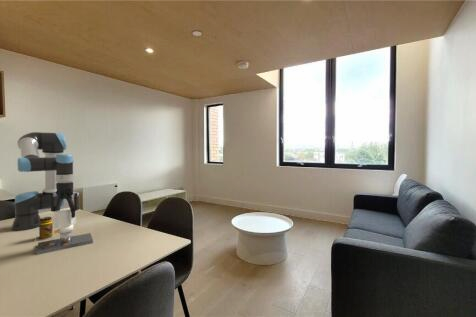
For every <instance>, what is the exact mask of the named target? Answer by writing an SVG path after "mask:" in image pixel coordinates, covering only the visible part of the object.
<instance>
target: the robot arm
mask: <svg viewBox="0 0 476 317" xmlns="http://www.w3.org/2000/svg"><path fill="white" fill-rule="evenodd" d="M17 148H18V149H19V150H20V155H21V157H18V159H17V171H18V172H24V173H25V172H26V173H29V172H44V179H45V181H44V188H43V189H42V190H41V192H39V191H37V190H35V191H27V192H22V193H19V194H17V195H15V197H14V202H13V203H14V216H15V217H14V220H13V222H12V224H11V230H12V231H25V230H26V231H27V230H32V229H36V228H38V227H39V224H40V219H41V218H42V217H41V216H40V213H39V211H40V210H42V211H43V210H47V209H50V211H51V212H53V213H54V211H59V210H61V208H62V207H64V206H65V204H66V201H67V203H68V206H69V207H68V208H70V210H71V212H69V215H70V224H72V223H74V217H75V211H76V212H77V211H79V210H80V200H79V196H80V192H76V191H75V190H74V182H73V181H74V156H73V155H72V154H70V153H64V151H66V150H67V141H66V137H65V135H64V134H63V133H57V132H38V131H35V132H34V131H33V132H28V133H26V134H24V135H22V136H21V137H19V139H18V141H17ZM39 150H41V152H42V153H43V154H44V156H45V157H40V154H39Z"/></svg>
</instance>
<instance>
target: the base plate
mask: <svg viewBox="0 0 476 317" xmlns="http://www.w3.org/2000/svg"><path fill="white" fill-rule="evenodd" d="M59 235H60V236H59V237H60V238H57V239H49V240H45V241H44V240H43V241H40V242H39V241H38V243H37V248H36V251H35V252H36V253H35V254H36V255H40V254H45V253H50V252H55V251H60V250H64V249H65V250H66V249H69V248H74V247H79V246H84V245H89V244H93V243H94V239H93V236H92V234H91V232H90V233H89V232H88V233H84V234H77V235H72V231H71V232H68V233H59Z"/></svg>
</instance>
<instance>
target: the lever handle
mask: <svg viewBox="0 0 476 317" xmlns="http://www.w3.org/2000/svg"><path fill="white" fill-rule="evenodd" d="M69 212H71V210H70V207H68V208H63V209H60V210H59V211H54V212H53V213H54V228H55V230H53V234H54V235H55V234H60V233H68V232H71V233H72V232H73V231H74V225H76V224H77V211H75V217H74V223H72V224H70V215H69Z"/></svg>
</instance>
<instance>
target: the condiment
mask: <svg viewBox="0 0 476 317" xmlns="http://www.w3.org/2000/svg"><path fill="white" fill-rule="evenodd" d="M40 218H41V219H40V224H39V229H38V230H39V235H38V236H36V237H35V238H34V240H33V241H34V242H37V241H38V242H39V241H44V240H45V241H46V240H52V239H53V238H54V236H55V233H54V230H53V221H52V217H51V216H44V217H40Z"/></svg>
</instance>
